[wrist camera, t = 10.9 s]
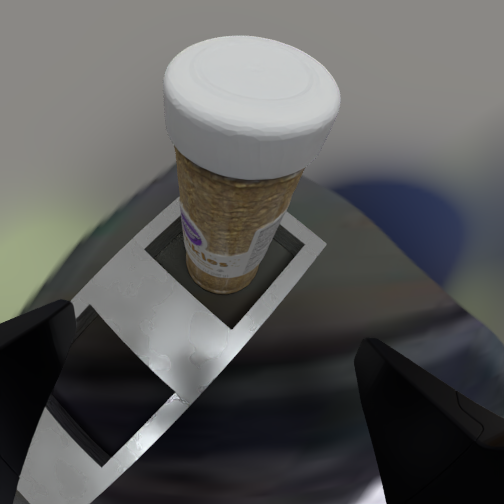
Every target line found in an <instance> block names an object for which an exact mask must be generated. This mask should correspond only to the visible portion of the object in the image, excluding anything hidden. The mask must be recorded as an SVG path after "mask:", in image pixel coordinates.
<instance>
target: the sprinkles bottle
mask: <svg viewBox="0 0 504 504" xmlns="http://www.w3.org/2000/svg"><path fill="white" fill-rule="evenodd" d="M163 89H164V90H163V91H164V113H165V122H166V129H167V132H168V135H169V137H170V139H171V141H172V143H173V144H174V147H175V152H176V160H177V161H176V162H177V174H178V181H179V190H180V198H179V205H180V213H181V221H182V229H183V237H184V244H185V248H186V251H187V252H186V264H187V268H188V271H189V274H190V276H191V277H192V278H193V280H194V282H195V283H197V284H198V285H199V286H200V287H202V288H203V289H205V290H207V291H210V292H213V293H216V294H230V293H233V292H237V291H239V290H241V289H243V288H245V287H246V286H248V285H249V284H250V282H251V281H252V280H253V279H254V277H255V275H256V273H257V271H258V268H259V263H260V262H261V260H262V259H263V257H264V255H265V253H266V251H267V249H268V247H269V245H270V243H271V241H272V239H273V236H274V234H275V232H276V230H277V228H278V226H279V224H280V222H281V220H282V218H283V216H284V214H285V212H286V210H287V208H288V206H289V204H290V201H291V197H292V194H293V192H294V190H295V189H296V186H297V184H298V182H299V179H300V177H301V175H302V173H303V171H304V169H305V168H306V166H308V165H309V164H310V163H311V162H312V161H313V160H314V159H315V158H316V157H317V155H318V154H319V152H320V151H321V149H322V146H323V145H324V142H325V140H326V138H327V136H328V134H329V132H330V130H331V128H332V126H333V123H334V121H335V119H336V117H337V114H338V112H339V107H340V92H339V88H338V86H337V84H336V82H335V80H334V78H333V77H332V75H331V74H330V73H329V72H328V70H327V69H326V68H325V67H324V66H323V65H322V64H320V63H319V62H318V61H317V60H315V59H314V58H313V57H311V56H310V55H308V54H306V53H305V52H303V51H301V50H299V49H297V48H295V47H292V46H290V45H287V44H284V43H281V42H278V41H275V40H271V39H266V38H261V37H253V36H225V37H218V38H212V39H208V40H205V41H202V42H199V43H196V44H194V45H191V46H190V47H188V48H186V49H185V50H183V51H182V52H180V53H179V54H178V55H177V56H176V57H174V59H173V60H172V61H171V62H170V63H169V65H168V67H167V69H166V72H165V75H164V80H163Z"/></svg>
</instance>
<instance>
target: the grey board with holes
mask: <svg viewBox="0 0 504 504" xmlns="http://www.w3.org/2000/svg"><path fill="white" fill-rule="evenodd" d="M179 198H180V196H179V197H178V198H177V199H176V200H175V201H174V202H172V203H171V204H170V205H169V206H168V207H167V208H166V209H164V210H163V211H162V212H161V213H160V214H159V215H158V216H157V217H155V218H154V219H153V220H152V221H151V222H150V223H149V224H148V225H147V226H146V227H144V228H143V229H142V230H141V231H140V232H139V233H138V234H137V235H136V236H135V237H134V238H133V239H132V240H131V241H129V242H128V243H127V244H126V245H125V246H124V247H123V248H122V249H121V250H120V251H119V252H118V253H117V254H116V255H115V256H114V257H113V258H112V259H111V260H110V261H109V262H108V263H107V264H106V265H105V266H104V267H103V268H102V269H101V270H100V271H99V272H98V273H97V274H96V275H95V276H94V277H93V278H92V279H91V280H90V281H89V282H88V283H87V284H86V285H85V286H84V287H83V288H82V290H81V291H80V292H79V293H78V294H77V295H76V296H75V297H74V298H73V299H72V300H71V302H72V303H73V305H74V311H75V316H76V322H77V329H76V333H75V335H74V338H73V341H72V343H73V342H74V341H75V339H76V338H77V337H78V336H79V335H80V334H81V333H82V332H83V331H84V329H85V328H86V327H87V326H88V325H89V324H90V323H91V322H92V321H93V320H94V319H95V318H96V316H97V315H98V314H99V315H100V316H101V317H102V319H103V320H104V321H105V322H106V323H107V324H108V325H109V326H110V328H111V329H112V330H113V331H114V332H115V333H116V334H117V335H118V336H119V337H120V338H121V339H122V341H123V342H124V343H125V344H126V345H127V346H128V347H129V348H130V349H131V350H132V351H133V352H134V353H135V354H136V355H137V356H138V357H139V358H140V359H141V360H142V361H143V362H144V363H145V364H146V365H147V366H148V367H149V368H150V369H151V370H152V371H153V372H154V373H155V374H156V375H158V376H159V377H160V378H161V379H162V380H163V381H164V382H165V383H166V384H167V385H168V386H170V387H171V388H172V389H173V390H174V391H175V393H174V394H173V395H172V396H171V397H170V398H169V399H168V401H167V402H166V403H165V404H164V405H163V406H162V407H161V408H160V409H159V410H158V411H157V412H156V413H155V414H154V415H153V416H152V417H151V418H150V419H149V420H148V421H147V422H146V423H145V425H144V426H143V427H142V428H141V429H140V430H139V431H138V432H137V433H136V434H135V435H134V436H133V437H132V438H131V439H130V440H129V441H128V442H127V443H126V444H125V445H124V446H123V447H122V448H121V449H120V450H119V451H118V452H117V453H116V454H115V455H114V456H113V457H112V458H111V457H110V456H109V455H108V454H107V453H106V452H104V451H103V450H102V449H101V448H100V447H99V446H98V445H97V444H96V443H95V442H94V441H93V440H92V439H91V438H90V437H89V436H88V435H87V434H86V433H85V432H84V431H83V429H82V428H81V427H80V426H79V425H78V424H77V423H76V422H75V421H74V420H73V419H72V417H71V416H70V415H69V414H68V413H67V412H66V411H65V409H64V408H63V407H62V406H61V405H60V403H59V402H58V401H57V400H56V399H55V397H54V396H53V395H52V394H51V395H50V397H49V399H48V401H47V404H46V406H45V408H44V411H43V413H42V416H41V418H40V421H39V423H38V426H37V428H36V431H35V434H34V436H33V439H32V442H31V445H30V447H29V450H28V453H27V456H26V459H25V462H24V465H23V468H22V472H21V475H20V476H19V477H20V479H19V482H18V486H17V490H18V491H19V492H20V493H21V494H22V495H23V496H24V497H25V498H26V500H27V501H28V502H29V503H30V504H90V503H91V502H92V501H93V500H94V499H95V498H96V497H98V496H99V495H100V494H101V493H102V492H103V491H104V490H105V489H106V488H107V487H109V486H110V485H111V484H112V483H113V482H114V481H115V480H116V479H117V478H118V477H119V476H120V475H121V474H122V473H124V472H125V471H126V470H127V469H128V468H129V467H130V466H131V465H132V464H133V463H134V462H135V461H136V460H137V459H138V458H139V457H140V456H141V455H142V454H143V453H144V452H145V451H146V450H147V449H148V448H149V447H150V446H151V445H152V444H153V443H154V442H155V441H156V440H157V439H158V438H159V437H160V436H161V435H162V434H163V433H164V432H165V431H166V430H167V429H168V428H169V427H170V426H171V425H172V424H173V423H174V422H175V421H176V420H177V419H178V418H179V417H180V416H181V415H182V414H183V412H184V411H185V410H186V409H187V408H188V407H189V406H190V405H191V404H192V403H193V402H194V401H195V400H196V399H197V398H198V396H199V395H200V394H201V393H202V392H203V391H204V390H205V389H206V388H207V387H208V386H209V385H210V383H211V382H212V381H213V380H214V379H215V378H216V377H217V376H218V375H219V373H220V372H221V371H222V370H223V369H224V368H225V367H226V366H227V365H228V363H229V362H230V361H231V360H232V359H233V358H234V357H235V355H236V354H237V353H238V352H239V351H240V350H241V349H242V347H243V346H244V345H245V344H246V343H247V342H248V340H249V339H250V338H251V337H252V336H253V335H254V333H255V332H256V331H257V330H258V329H259V328H260V326H261V325H262V324H263V323H264V322H265V320H266V319H267V318H268V317H269V316H270V314H271V313H272V312H273V311H274V310H275V308H276V307H277V306H278V305H279V304H280V302H281V301H282V300H283V299H284V298H285V296H286V295H287V294H288V293H289V291H290V290H291V289H292V288H293V286H294V285H295V284H296V283H297V281H298V280H299V279H300V278H301V276H302V275H303V274H304V273H305V271H306V270H307V269H308V268H309V266H310V265H311V264H312V263H313V261H314V260H315V259H316V257H317V256H318V255H319V254H320V252H321V251H322V250H323V248H324V247H325V246H326V243H325V242H324V241H323V240H321V239H320V238H319V237H318V236H316V235H315V234H314V233H313V232H312V231H310V230H309V229H308V228H307V227H305V226H304V225H303V224H302V223H300V222H299V221H298V220H297V219H295V218H294V217H293V216H292V215H290V214H289V213H288V212H287V211H286V212H285V214H284V216H283V218H282V220H281V222H280V224H279V226H278V228H277V230H276V232H275V234H274V236H273V238H274V239H275V240H276V241H277V242H279V243H280V244H281V245H282V246H283V247H285V248H286V249H287V250H288V251H290V252H291V253H292V254H293V255H294V256H295V257H294V259H293V260H292V261H291V262H290V263H289V265H288V266H287V267H286V268H285V269H284V270H283V272H282V273H281V274H280V275H279V276H278V278H277V279H276V280H275V281H274V282H273V283H272V285H271V286H270V287H269V288H268V289H267V290H266V292H265V293H264V294H263V295H262V296H261V297H260V299H259V300H258V301H257V302H256V303H255V304H254V306H253V307H252V308H251V309H250V310H249V311H248V312H247V314H246V315H245V316H244V317H243V318H242V319H241V320H240V322H239V323H238V324H237V325H236V326H235V327H234V328H233V329H232V330H231V329H230V328H229V327H228V326H226V325H225V324H224V323H223V322H222V321H221V320H219V319H218V318H217V317H216V316H215V315H214V314H213V313H211V312H210V311H209V310H208V309H207V308H206V307H205V306H204V305H202V304H201V303H200V302H199V301H198V300H197V299H196V298H195V297H194V296H193V295H191V294H190V293H189V292H188V291H187V290H186V289H185V288H184V287H183V286H182V285H181V284H179V283H178V282H177V281H176V280H175V279H174V278H173V277H172V276H171V275H170V274H169V273H168V272H167V271H166V270H165V269H164V268H163V267H161V266H160V265H159V264H158V263H157V262H156V261H155V260H154V259H153V258H154V257H155V256H156V255H157V254H158V253H159V252H160V251H162V250H163V249H164V248H165V247H166V246H167V245H168V244H169V243H170V242H171V241H172V240H173V239H174V238H175V237H176V236H177V235H178V234H179V233H180V232H182V231H183V229H182V221H181V213H180V205H179ZM72 343H71V344H72Z"/></svg>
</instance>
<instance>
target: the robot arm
mask: <svg viewBox="0 0 504 504" xmlns="http://www.w3.org/2000/svg"><path fill="white" fill-rule="evenodd" d="M76 329H77V322H76V316H75V311H74V305H73V303H72V302H71V301H67V300H63V299H60V300H57V301H55V302H52V303H50V304H47V305H45V306H42V307H40V308H37V309H35V310H32V311H30V312H27V313H25V314H22V315H20V316H17V317H15V318H13V319H10V320H8V321H5V322H3V323H1V324H0V504H13V501H14V497H15V493H16V489H17V486H18V482H19V479H20V477H19V476H20V475H21V472H22V468H23V465H24V462H25V459H26V456H27V453H28V450H29V447H30V445H31V442H32V439H33V436H34V434H35V431H36V428H37V426H38V423H39V421H40V418H41V416H42V413H43V411H44V408H45V406H46V404H47V401H48V399H49V397H50V395H51V392H52V390H53V388H54V386H55V383H56V381H57V379H58V377H59V375H60V372H61V370H62V368H63V365H64V363H65V360H66V357H67V354H68V351H69V349H70V346H71V343H72V341H73V338H74V335H75V333H76ZM354 366H355V371H356V377H357V382H358V388H359V394H360V399H361V404H362V408H363V411H364V415H365V419H366V422H367V426H368V429H369V433H370V437H371V441H372V444H373V448H374V452H375V456H376V460H377V464H378V468H379V472H380V477H381V481H382V485H383V490H384V494H385V499H386V503H387V504H504V418H502V417H500V416H498V415H496V414H495V413H493V412H491V411H489V410H487V409H486V408H484V407H482V406H480V405H479V404H477V403H475V402H474V401H472V400H470V399H469V398H467V397H466V396H464V395H463V394H461V393H460V392H458V391H455V389H453V388H452V387H450V386H449V385H447V384H446V383H444V382H443V381H441V380H440V379H438V378H437V377H435V376H434V375H432V374H431V373H429V372H427V371H426V370H424V369H423V368H421V367H420V366H418V365H417V364H415V363H414V362H412V361H411V360H409V359H408V358H406V357H405V356H403V355H402V354H400V353H399V352H397V351H396V350H394V349H393V348H391V347H390V346H388V345H387V344H385V343H384V342H382V341H381V340H379V339H377V338H364V339H363V340H362V342H361V345H360V347H359V349H358V352H357V354H356V356H355V359H354Z"/></svg>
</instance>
